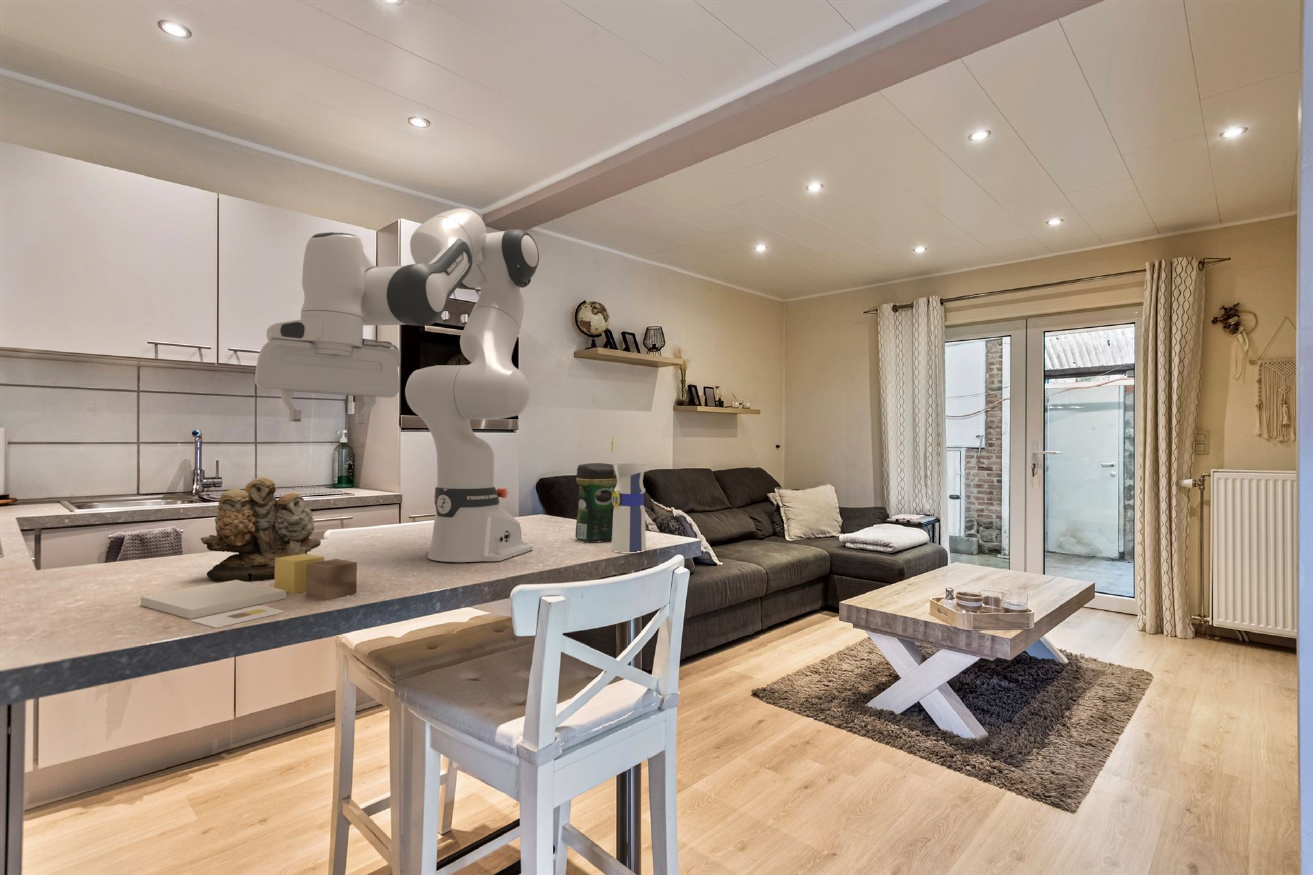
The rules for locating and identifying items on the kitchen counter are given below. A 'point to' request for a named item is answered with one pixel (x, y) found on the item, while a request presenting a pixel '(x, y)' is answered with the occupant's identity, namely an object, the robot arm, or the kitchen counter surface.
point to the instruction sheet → (237, 616)
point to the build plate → (212, 598)
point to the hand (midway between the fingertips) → (328, 423)
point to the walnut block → (331, 579)
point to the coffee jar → (595, 502)
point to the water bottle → (629, 507)
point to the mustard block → (293, 572)
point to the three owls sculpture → (258, 531)
